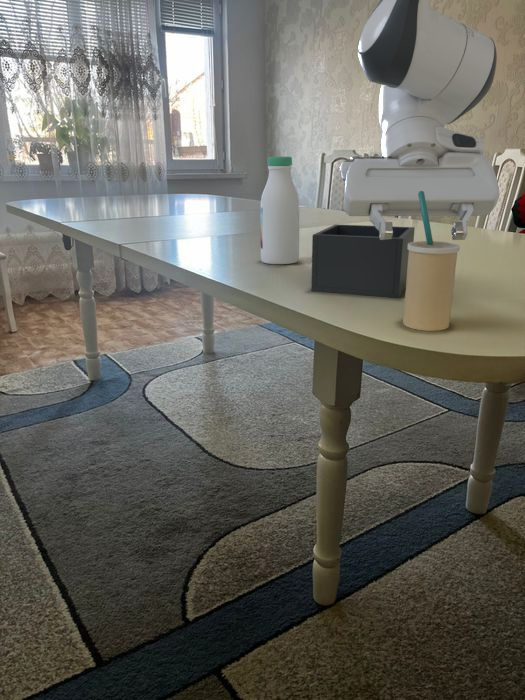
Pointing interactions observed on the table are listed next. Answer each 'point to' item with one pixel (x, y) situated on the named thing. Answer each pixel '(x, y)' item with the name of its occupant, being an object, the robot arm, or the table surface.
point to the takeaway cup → (429, 280)
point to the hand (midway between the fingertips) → (423, 237)
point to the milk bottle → (279, 215)
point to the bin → (360, 260)
